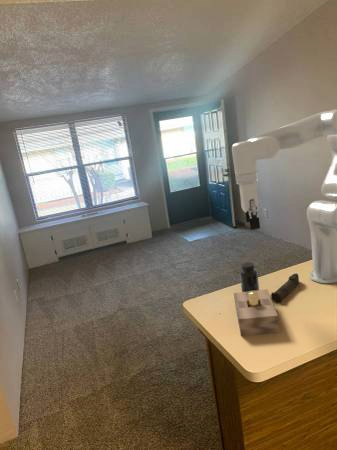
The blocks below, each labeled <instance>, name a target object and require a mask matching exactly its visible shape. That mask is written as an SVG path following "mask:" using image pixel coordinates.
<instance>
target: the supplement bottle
mask: <svg viewBox="0 0 337 450" xmlns="http://www.w3.org/2000/svg"><path fill="white" fill-rule="evenodd" d="M239 278H240V279H239V280H240V287H241V292H248V291H257V290H260V285H259V274H258V271H257V269H256V268H255V264H254V262H250V261H249V262H244V263H242V264H241V270H240V272H239Z"/></svg>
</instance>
